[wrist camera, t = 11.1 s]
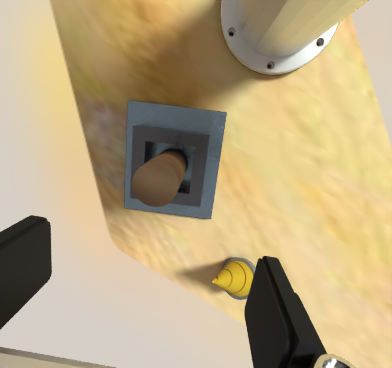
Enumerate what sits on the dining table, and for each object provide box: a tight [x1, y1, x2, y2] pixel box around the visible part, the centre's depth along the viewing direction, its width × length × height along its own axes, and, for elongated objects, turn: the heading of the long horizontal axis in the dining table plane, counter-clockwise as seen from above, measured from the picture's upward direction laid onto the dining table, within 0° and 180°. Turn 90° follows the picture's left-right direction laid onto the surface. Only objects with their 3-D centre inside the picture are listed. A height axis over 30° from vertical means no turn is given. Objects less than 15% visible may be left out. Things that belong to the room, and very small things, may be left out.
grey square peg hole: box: [124, 100, 227, 219], centre depth 29 cm, size 14×12×4 cm
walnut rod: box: [132, 148, 188, 207], centre depth 25 cm, size 4×4×10 cm
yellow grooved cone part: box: [212, 258, 256, 300], centre depth 31 cm, size 5×5×10 cm
